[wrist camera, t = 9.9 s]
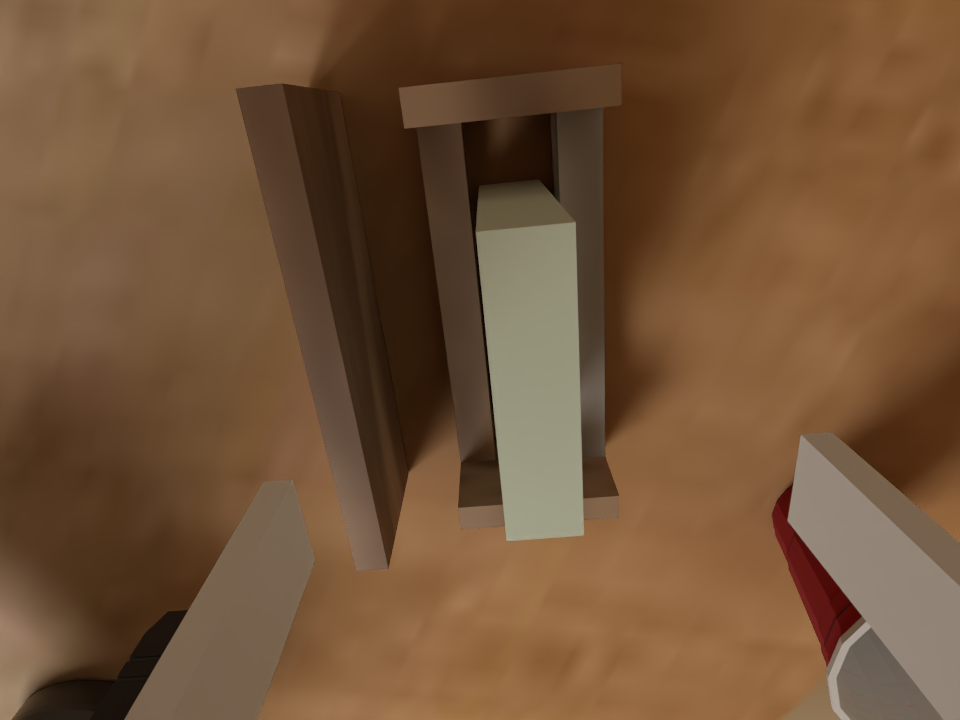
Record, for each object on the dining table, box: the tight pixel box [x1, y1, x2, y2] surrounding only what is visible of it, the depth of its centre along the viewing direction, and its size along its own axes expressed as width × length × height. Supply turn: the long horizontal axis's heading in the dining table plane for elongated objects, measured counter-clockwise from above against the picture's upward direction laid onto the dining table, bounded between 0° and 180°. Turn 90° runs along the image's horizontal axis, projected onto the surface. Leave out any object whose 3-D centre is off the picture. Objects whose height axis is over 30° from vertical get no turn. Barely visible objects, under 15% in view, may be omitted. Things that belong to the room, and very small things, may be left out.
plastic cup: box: [772, 486, 943, 720], centre depth 30 cm, size 11×11×12 cm
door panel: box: [476, 179, 584, 541], centre depth 24 cm, size 3×12×12 cm, turn 6°
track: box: [236, 63, 622, 571], centre depth 26 cm, size 13×22×8 cm, turn 6°
